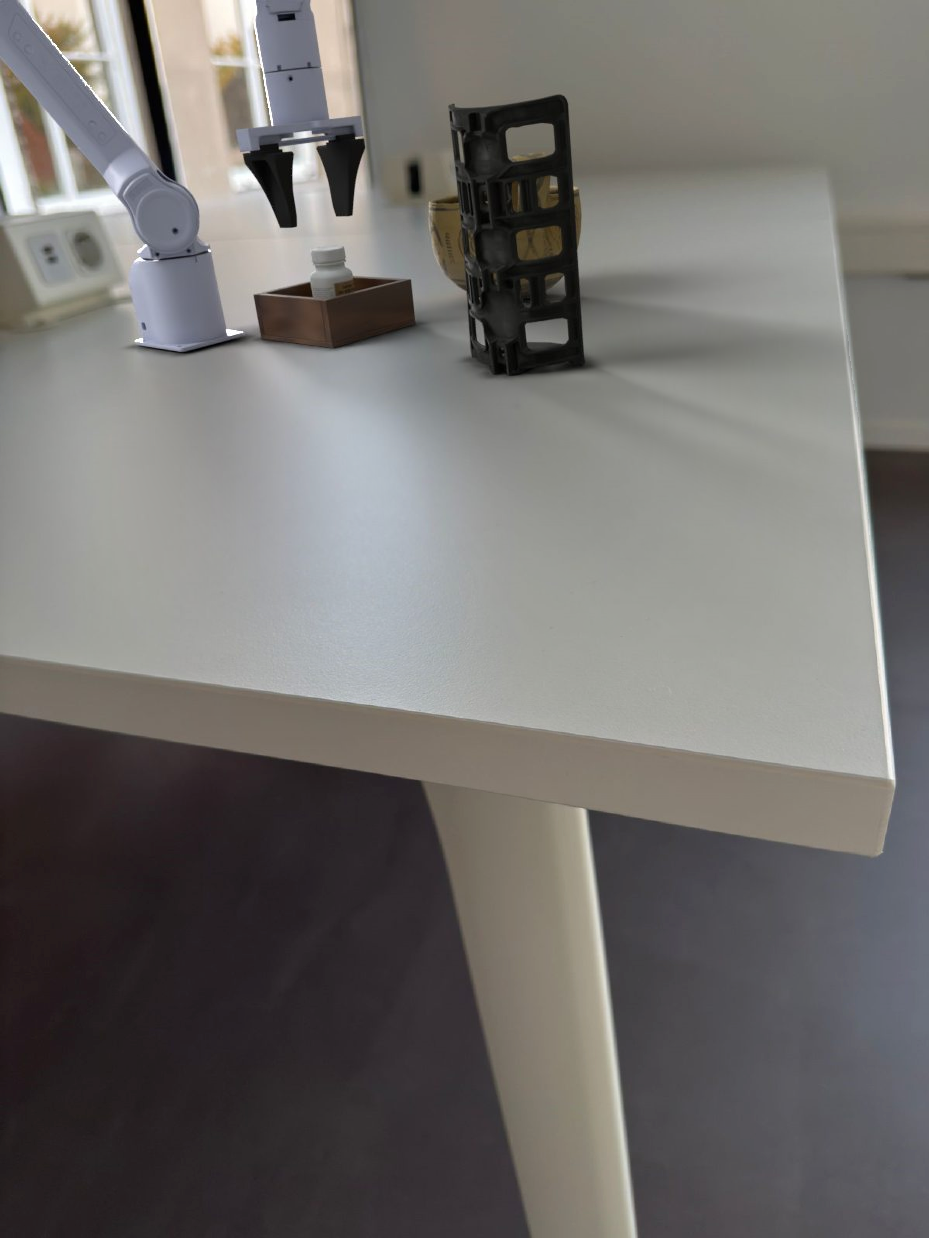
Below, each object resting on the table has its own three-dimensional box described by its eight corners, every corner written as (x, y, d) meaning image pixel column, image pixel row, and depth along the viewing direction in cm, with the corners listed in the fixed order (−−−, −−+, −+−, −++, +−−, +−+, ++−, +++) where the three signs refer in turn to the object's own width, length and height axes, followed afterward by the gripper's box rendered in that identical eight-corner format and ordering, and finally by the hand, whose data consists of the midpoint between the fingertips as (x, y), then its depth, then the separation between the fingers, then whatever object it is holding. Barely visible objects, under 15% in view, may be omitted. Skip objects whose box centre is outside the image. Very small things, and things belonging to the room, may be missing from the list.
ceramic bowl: (613, 302, 100) (612, 145, 93) (459, 323, 97) (445, 163, 90) (550, 275, 119) (545, 143, 112) (419, 291, 117) (405, 157, 110)
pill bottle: (352, 330, 96) (341, 250, 93) (311, 331, 97) (299, 252, 94) (364, 321, 100) (354, 243, 96) (325, 322, 101) (314, 246, 97)
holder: (602, 350, 80) (586, 85, 69) (573, 382, 75) (551, 100, 64) (484, 350, 85) (452, 101, 74) (449, 380, 79) (408, 116, 68)
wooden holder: (260, 338, 99) (252, 294, 97) (343, 316, 106) (337, 274, 104) (332, 348, 92) (325, 300, 90) (415, 323, 99) (411, 279, 97)
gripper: (257, 71, 84) (286, 233, 91) (374, 63, 93) (393, 210, 100) (212, 79, 89) (243, 233, 95) (328, 71, 98) (349, 211, 104)
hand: (317, 221), depth 98 cm, fingers open, 7 cm apart
